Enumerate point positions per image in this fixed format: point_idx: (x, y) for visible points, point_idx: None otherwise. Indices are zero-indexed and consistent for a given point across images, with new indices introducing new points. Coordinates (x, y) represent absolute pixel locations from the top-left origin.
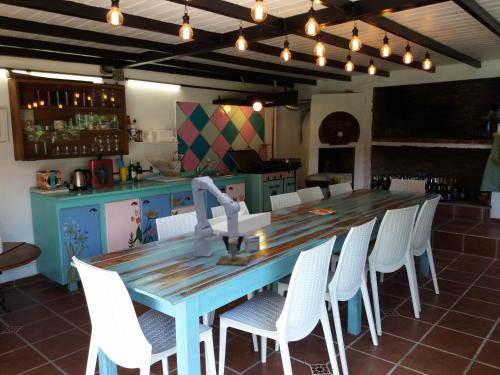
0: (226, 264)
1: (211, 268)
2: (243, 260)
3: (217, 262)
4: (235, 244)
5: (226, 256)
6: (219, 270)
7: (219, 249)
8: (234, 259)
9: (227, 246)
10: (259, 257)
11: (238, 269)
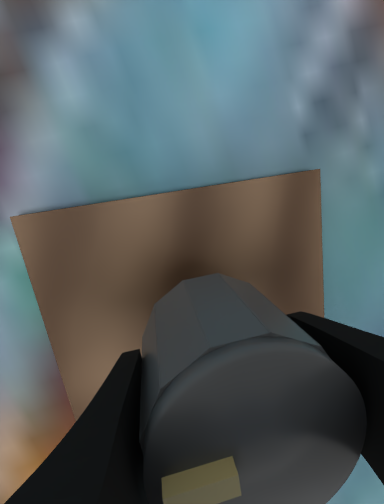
0: (222, 184)
1: (323, 62)
2: (95, 315)
3: (313, 189)
4: (191, 424)
5: None
6: (235, 15)
7: (370, 487)
8: None
9: (336, 340)
10: (15, 465)
11: (57, 91)
